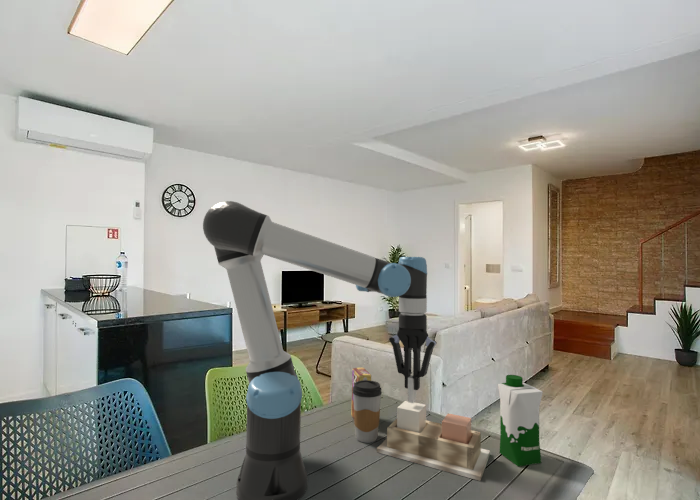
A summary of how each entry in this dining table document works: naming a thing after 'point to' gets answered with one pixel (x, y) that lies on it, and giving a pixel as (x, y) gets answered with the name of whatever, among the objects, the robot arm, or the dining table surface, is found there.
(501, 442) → the milk carton
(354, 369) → the candy box
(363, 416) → the coffee cup
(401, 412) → the white block
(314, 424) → the dining table surface
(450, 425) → the salmon pink block
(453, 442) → the housing
